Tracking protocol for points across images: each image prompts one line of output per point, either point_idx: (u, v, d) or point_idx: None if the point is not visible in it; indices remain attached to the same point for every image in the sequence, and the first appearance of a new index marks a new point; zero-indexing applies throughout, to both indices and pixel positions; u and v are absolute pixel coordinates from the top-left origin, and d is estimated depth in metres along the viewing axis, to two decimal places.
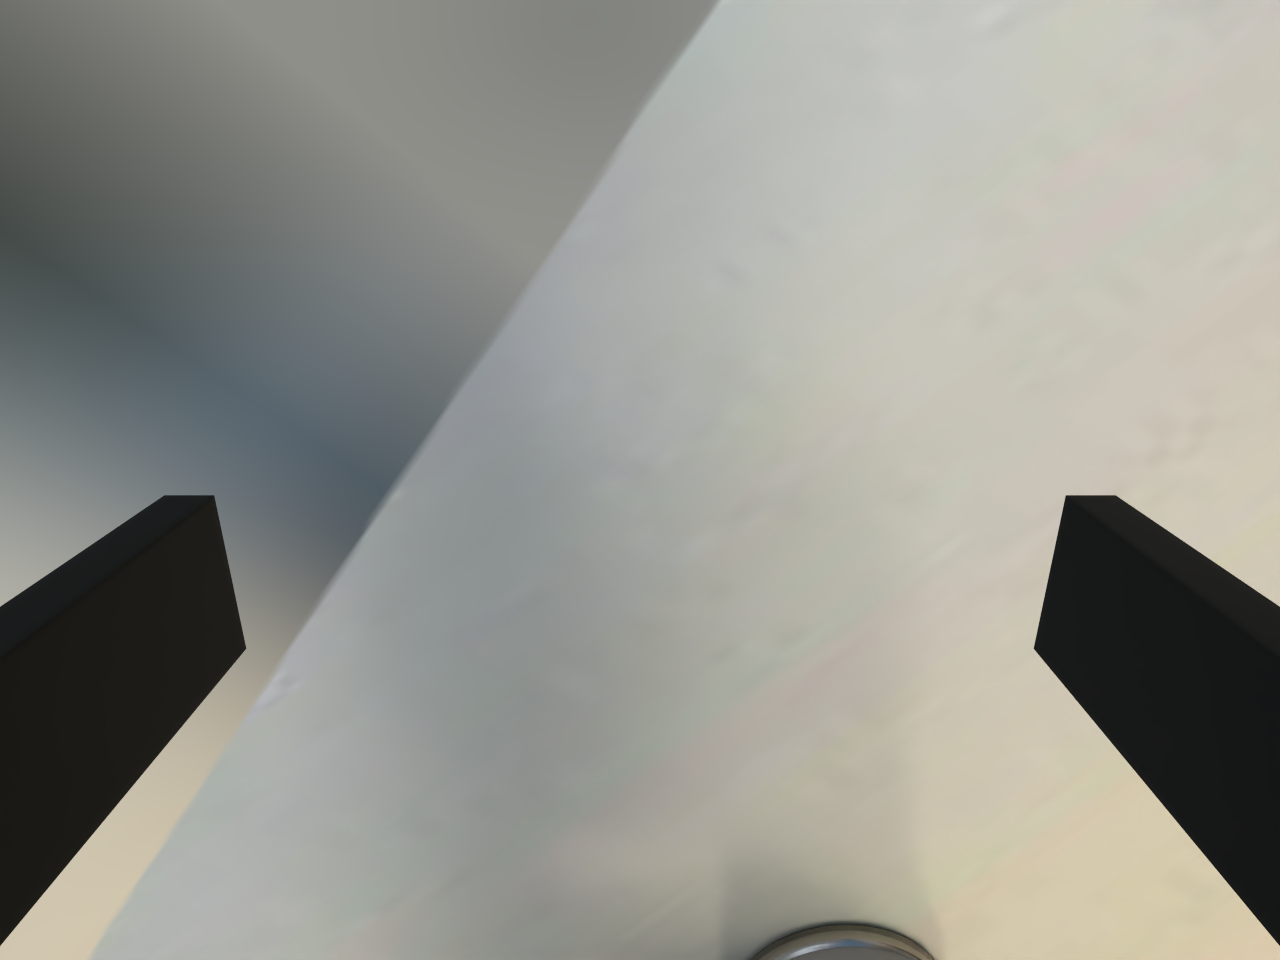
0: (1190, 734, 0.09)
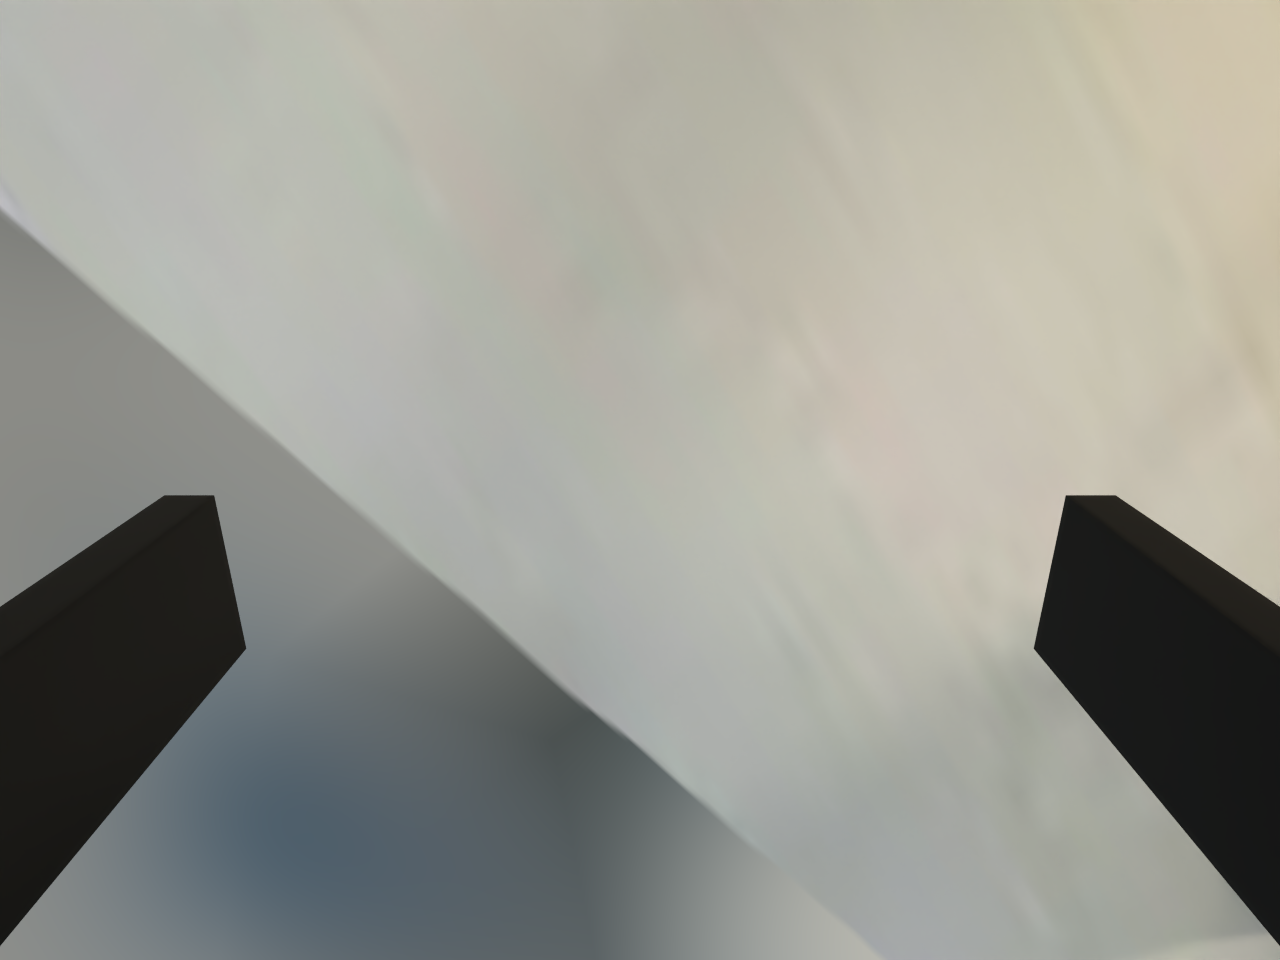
0: (1190, 734, 0.09)
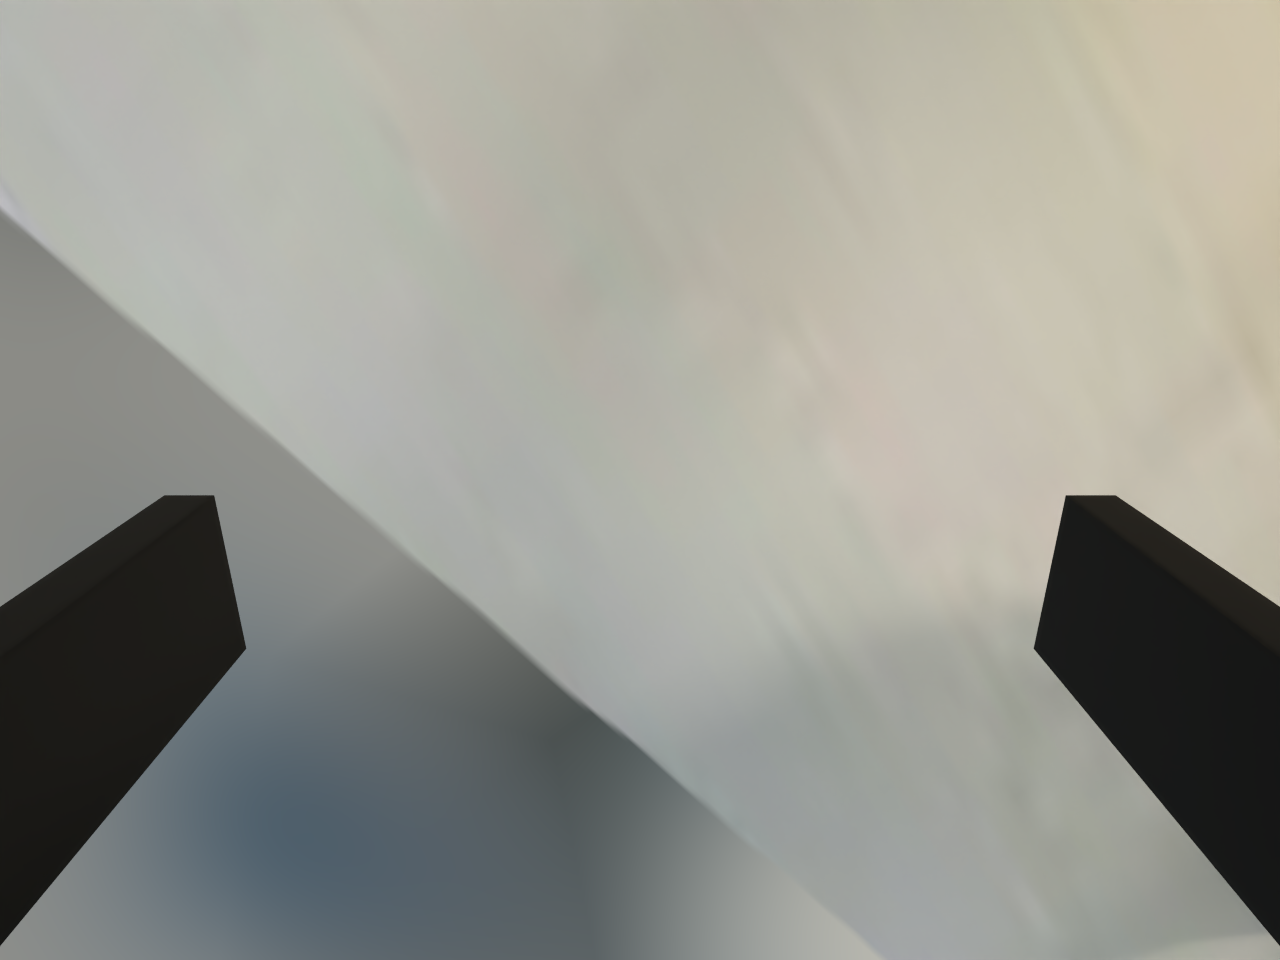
0: (1190, 734, 0.09)
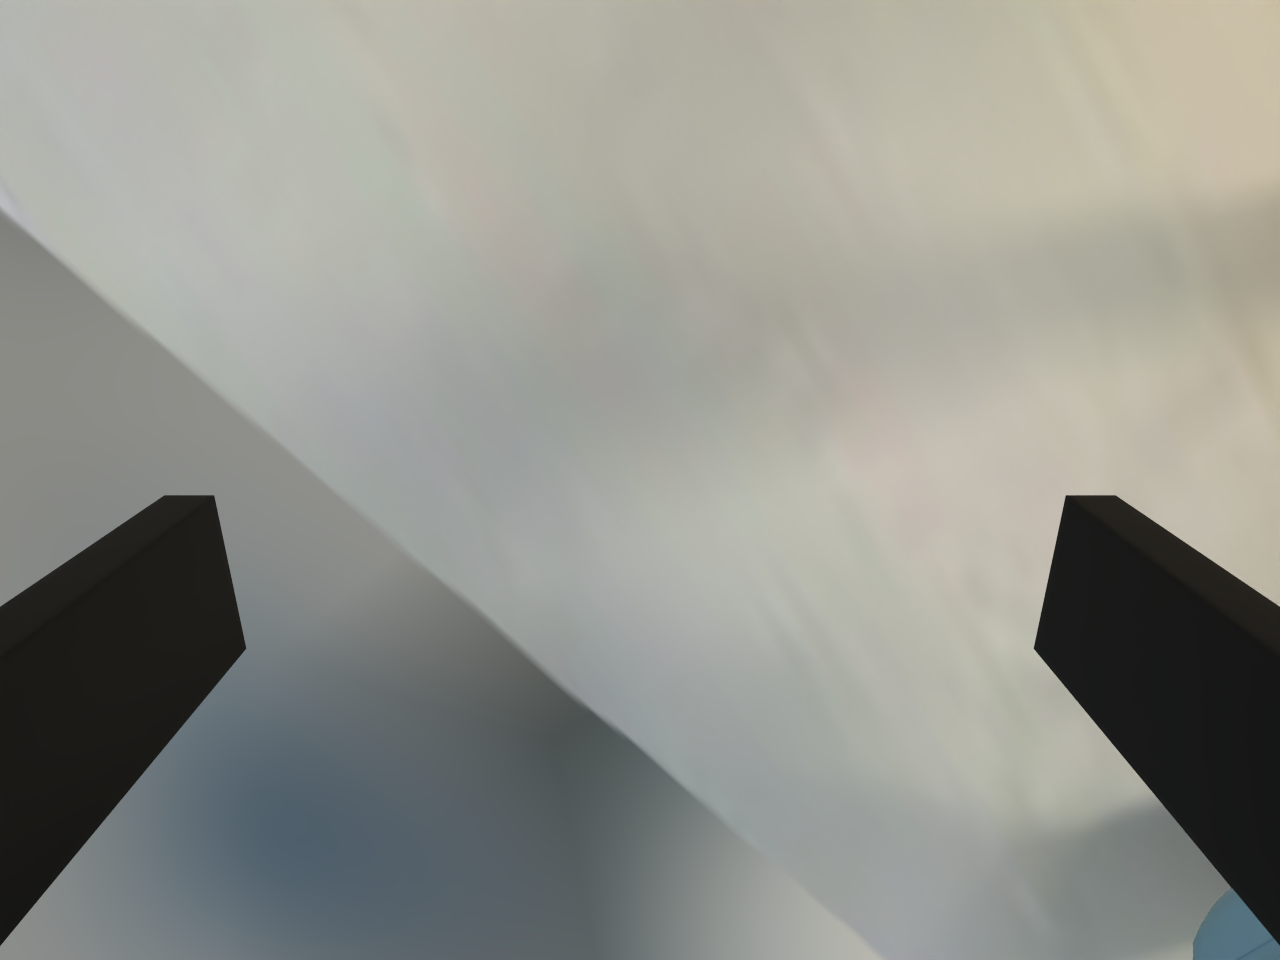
0: (1190, 734, 0.09)
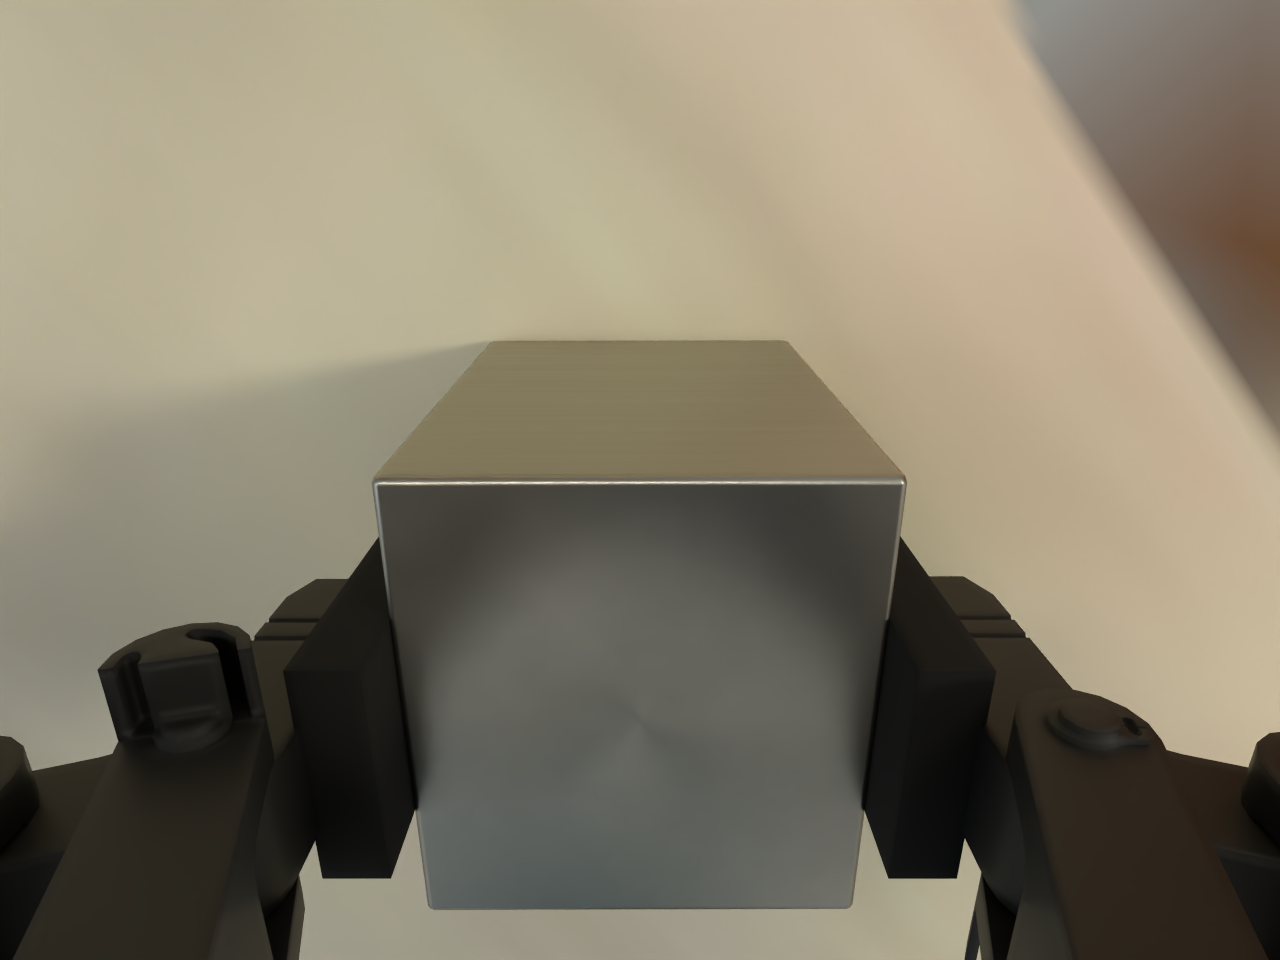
0: None
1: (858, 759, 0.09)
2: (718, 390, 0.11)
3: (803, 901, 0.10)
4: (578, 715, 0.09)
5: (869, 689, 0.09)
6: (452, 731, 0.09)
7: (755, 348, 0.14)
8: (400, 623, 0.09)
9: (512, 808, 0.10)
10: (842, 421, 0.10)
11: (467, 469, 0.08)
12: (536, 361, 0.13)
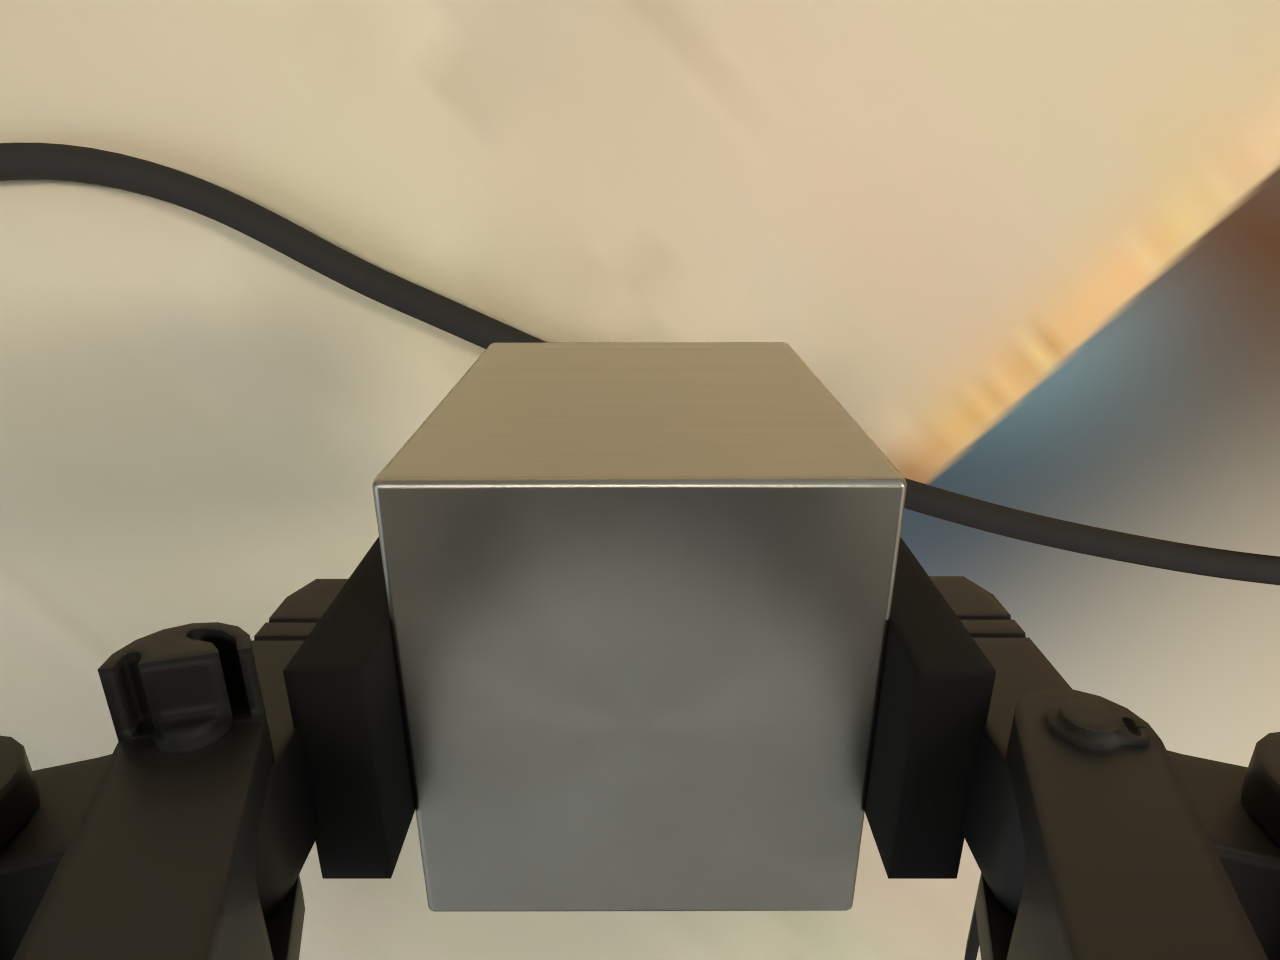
0: None
1: (858, 762, 0.09)
2: (718, 393, 0.11)
3: (803, 903, 0.10)
4: (578, 718, 0.09)
5: (869, 691, 0.09)
6: (452, 734, 0.09)
7: (755, 349, 0.14)
8: (401, 625, 0.09)
9: (513, 810, 0.10)
10: (842, 423, 0.10)
11: (467, 471, 0.08)
12: (536, 363, 0.13)
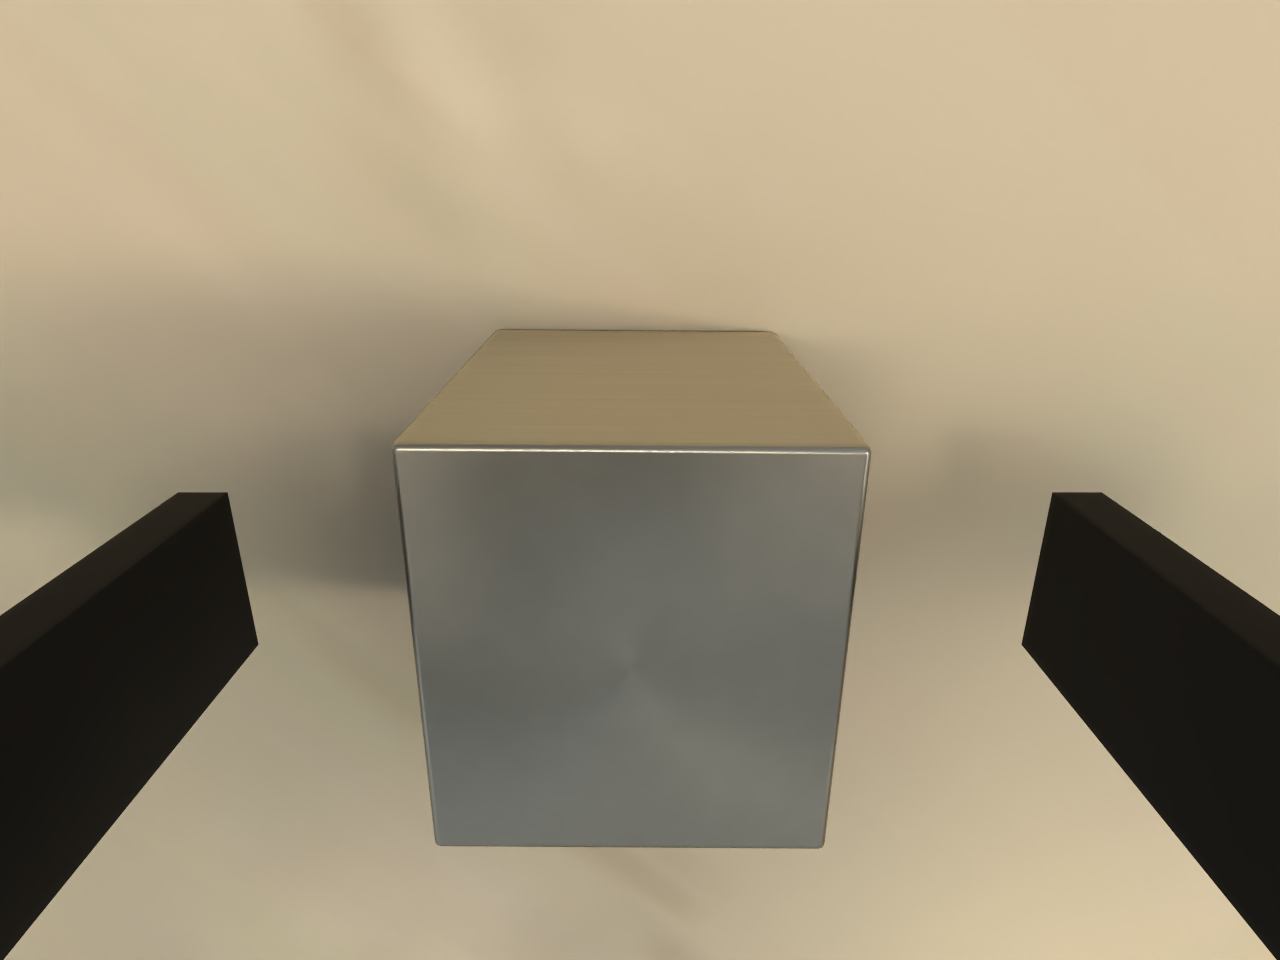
0: (1171, 727, 0.09)
1: (828, 708, 0.10)
2: (707, 374, 0.12)
3: (779, 840, 0.11)
4: (575, 664, 0.10)
5: (838, 642, 0.10)
6: (460, 678, 0.10)
7: (744, 337, 0.15)
8: (415, 577, 0.10)
9: (513, 750, 0.11)
10: (818, 401, 0.11)
11: (477, 436, 0.09)
12: (538, 347, 0.14)
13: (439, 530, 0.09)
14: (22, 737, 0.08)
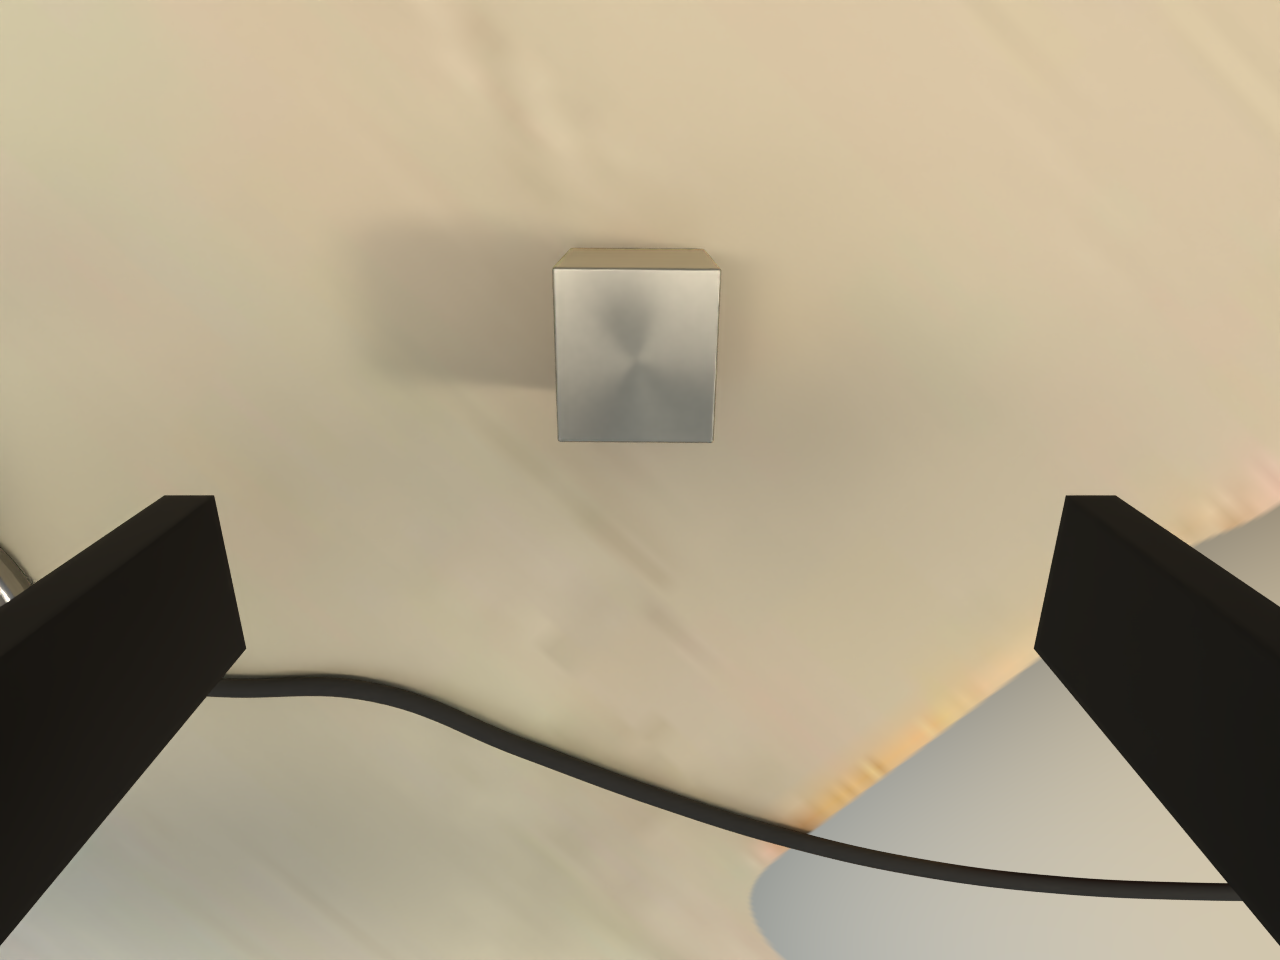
0: (1190, 734, 0.09)
1: (711, 376, 0.27)
2: (667, 257, 0.29)
3: (694, 437, 0.28)
4: (615, 356, 0.27)
5: (713, 347, 0.27)
6: (572, 362, 0.27)
7: (688, 250, 0.32)
8: (557, 319, 0.26)
9: (591, 395, 0.27)
10: (709, 262, 0.28)
11: (581, 266, 0.26)
12: (593, 251, 0.31)
13: (567, 300, 0.26)
14: None
